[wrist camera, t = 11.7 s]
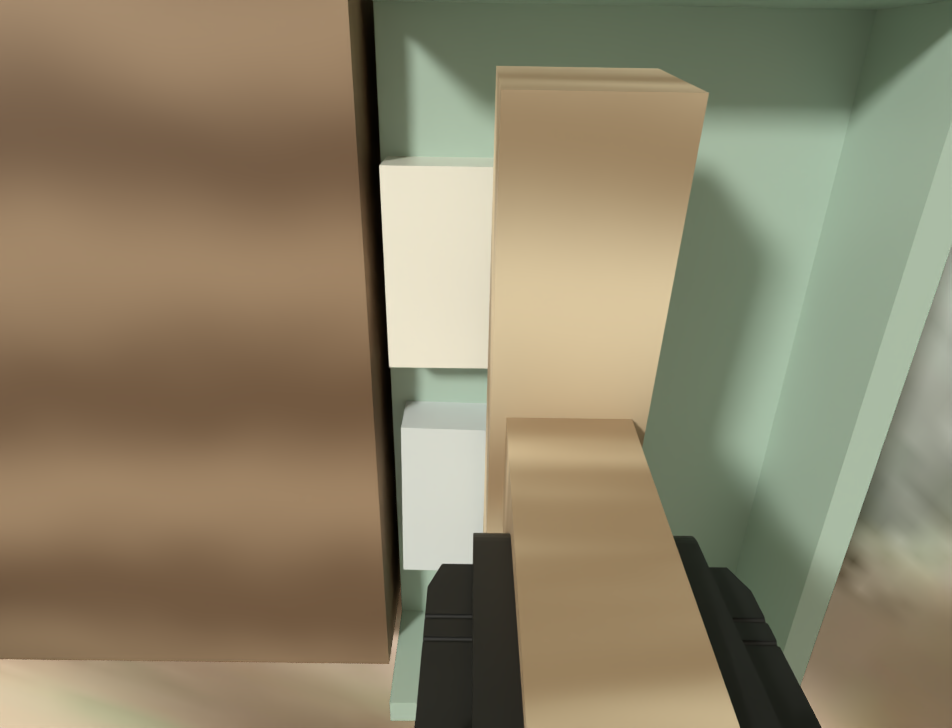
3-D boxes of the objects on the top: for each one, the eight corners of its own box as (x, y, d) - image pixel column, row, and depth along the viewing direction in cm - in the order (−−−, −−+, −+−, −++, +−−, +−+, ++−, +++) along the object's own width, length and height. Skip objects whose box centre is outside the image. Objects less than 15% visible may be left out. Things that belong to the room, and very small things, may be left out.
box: (383, -30, 16) (339, -72, 11) (872, -22, 16) (1056, -59, 11) (408, 584, 24) (390, 720, 19) (723, 589, 24) (786, 724, 19)
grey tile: (406, 400, 19) (400, 427, 17) (578, 406, 19) (586, 433, 17) (408, 535, 21) (403, 569, 19) (562, 540, 21) (568, 574, 19)
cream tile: (387, 155, 16) (379, 165, 14) (592, 159, 16) (603, 168, 14) (395, 343, 18) (389, 367, 16) (575, 346, 18) (583, 369, 16)
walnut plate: (-288, -42, 16) (-483, -68, 12) (371, -31, 16) (344, -53, 12) (-23, 579, 24) (-97, 657, 21) (400, 585, 24) (389, 663, 21)
